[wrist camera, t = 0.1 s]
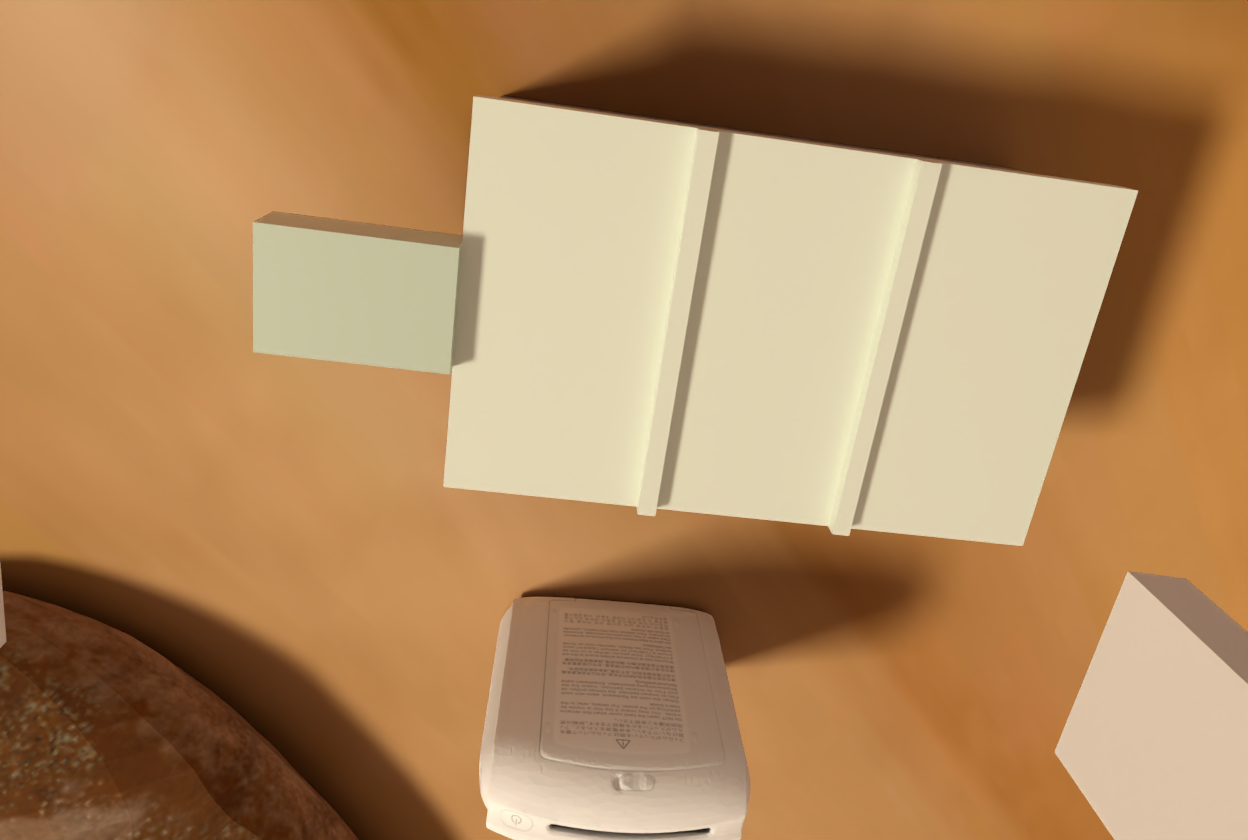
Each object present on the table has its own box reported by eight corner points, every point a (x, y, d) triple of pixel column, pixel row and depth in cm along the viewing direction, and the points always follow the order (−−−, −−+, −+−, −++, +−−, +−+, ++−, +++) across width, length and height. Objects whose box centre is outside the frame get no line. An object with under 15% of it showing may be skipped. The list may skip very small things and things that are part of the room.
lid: (283, 65, 29) (252, 67, 26) (1101, 181, 32) (1152, 194, 29) (280, 442, 33) (253, 478, 31) (997, 517, 36) (1032, 557, 33)
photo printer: (494, 665, 45) (466, 880, 33) (500, 585, 43) (473, 782, 31) (710, 679, 45) (756, 892, 34) (723, 602, 44) (777, 798, 32)
